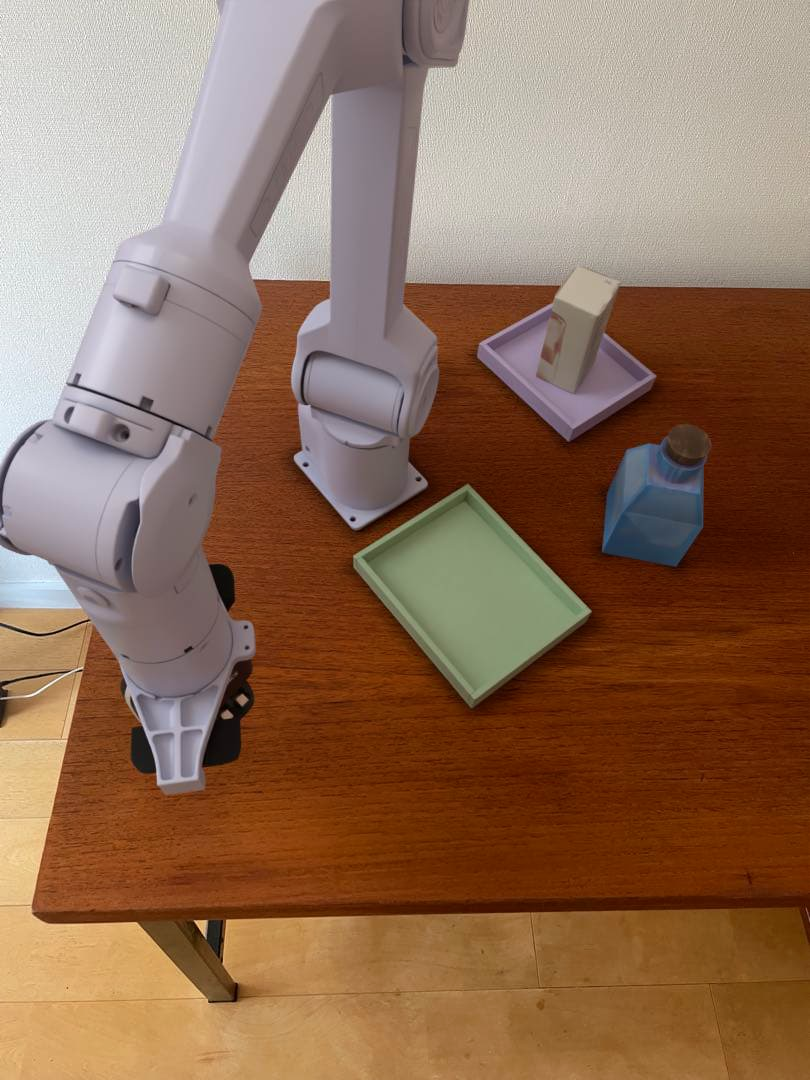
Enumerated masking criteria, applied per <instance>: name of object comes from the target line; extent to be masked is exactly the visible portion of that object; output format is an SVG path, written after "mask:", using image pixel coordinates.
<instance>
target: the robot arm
mask: <svg viewBox="0 0 810 1080" xmlns="http://www.w3.org/2000/svg"><path fill="white" fill-rule="evenodd" d="M215 3H216V6H217V10H218V14H219V16H220V17H219V21H218V25H217V28H216V31H215V35H214V39H213V42H212V46H211V48H210V53H209V57H208V59H207V63H206V67H205V70H204V74H203V77H202V80H201V84H200V87H199V91H198V94H197V98H196V102H195V106H194V108H193V112H192V116H191V119H190V123H189V126H188V129H187V133H186V135H185V139H184V143H183V148H182V151H181V154H180V157H179V161H178V164H177V168H176V171H175V175H174V177H173V178H174V179H173V181H172V186H171V189H170V193H169V196H168V198H167V202H166V207H165V210H164V213H163V217H162V221H161V222H160V224H158V225H157V226H155V227H153V228H150V229H148V230H144V231H142V232H139V233H138V234H135V235H132V236H130V237H128V238H126V239H125V240H123V241H121V242H120V243H119V244H118V247H117V250H116V253H115V255H114V258H113V260H112V263H111V265H110V268H109V270H108V273H107V275H106V278H105V281H104V283H103V286H102V288H101V290H100V293H99V295H98V298H97V301H96V304H95V306H94V309H93V311H92V314H91V315H90V319H89V321H88V324H87V326H86V330H85V332H84V335H83V337H82V339H81V342H80V345H79V347H78V350H77V351H76V355H75V358H74V360H73V363H72V365H71V367H70V371H69V373H68V375H67V378H66V381H65V385H64V386H63V389H62V391H61V394H60V396H59V399H58V402H57V404H56V407H55V410H54V412H53V414H52V418H50V419H43V420H40V421H37V422H35V423H33V424H31V425H29V426H28V427H27V428H25V429H24V430H23V431H22V432H21V433H20V434H18V436H17V437H16V439H15V440H14V441H13V442H12V443H11V444H10V445H9V447H8V448H7V449H6V450H7V451H6V452H5V454H4V456H3V458H2V459H1V462H0V546H1V547H2V548H4V549H5V550H7V551H10V552H13V553H16V554H18V555H22V556H34V557H37V558H40V559H42V560H45V561H47V563H48V565H50V566H53V567H54V569H55V570H56V571H57V573H58V574H59V576H60V577H61V579H62V581H63V582H64V583H65V585H66V587H67V588H68V589H69V591H70V592H71V594H72V595H73V597H74V599H75V600H76V601H77V602H78V603H77V604H78V605H79V606H80V607H81V608H82V610H83V611H84V613H85V614H86V616H87V617H88V619H89V620H90V622H91V623H92V625H93V626H94V628H95V629H96V631H97V632H98V633H99V635H100V636H101V638H102V639H103V641H104V642H105V643H106V645H107V646H108V648H109V649H110V650H111V652H112V654H113V656H114V657H115V658H116V660H117V661H118V663H119V667H120V670H121V674H122V676H124V679H125V681H126V684H127V686H128V689H129V692H130V694H131V697H132V699H133V702H134V705H135V707H136V710H137V712H138V715H139V718H140V720H141V723H142V724H141V726H133V727H131V732H130V734H131V735H130V760H131V763H132V765H133V766H134V767H135V768H136V770H137V771H138V772H139V773H141V774H145V775H149V774H152V775H153V774H156V786H157V787H158V788H159V789H160V790H161V791H162V793H163V794H164V796H170V795H177V794H178V795H179V794H186V793H187V794H188V793H191V792H192V793H193V792H200V791H205V790H206V772H205V770H204V769H205V768H210V767H211V768H212V767H219V766H223V765H225V764H230V763H233V762H236V761H237V760H238V759H239V757H240V754H241V750H242V729H241V720H240V717H237V718H229V719H221V720H215V719H216V716H217V713H218V710H219V707H220V704H221V701H222V699H223V696H224V693H225V690H226V687H227V684H228V681H229V678H230V675H231V672H232V669H233V667H234V665H235V664H236V663H237V662H239V661H244V660H249V659H251V660H252V659H253V658H254V656H255V655H256V652H257V647H256V644H257V643H256V632H255V627H254V624H253V623H252V622H251V621H249V620H246V619H245V620H234V619H232V617H231V616H230V614H229V611H230V609H231V608H232V606H233V605H234V604H235V602H236V590H235V587H236V585H235V577H234V576H235V575H234V573H233V570H232V569H231V568H230V567H229V566H228V565H225V564H222V563H213V564H211V563H210V564H209V561H208V558H207V556H206V553H205V550H204V547H203V545H202V544H203V541H204V538H205V536H206V534H207V532H208V530H209V528H210V524H211V520H212V517H213V512H214V508H215V500H216V492H217V491H216V489H217V488H216V486H217V485H216V482H217V481H216V479H217V474H218V470H219V467H220V464H221V461H222V457H221V456H222V452H223V448H222V447H221V445H220V446H219V445H218V444H216V443H214V438H215V435H216V433H217V430H218V427H219V425H220V422H221V419H222V417H223V414H224V412H225V409H226V406H227V405H228V401H229V399H230V396H231V393H232V391H233V388H234V385H235V383H236V380H237V378H238V374H239V373H240V370H241V367H242V364H243V361H244V359H245V356H246V353H247V351H248V350H249V349H248V348H249V346H250V344H251V340H252V338H253V335H254V333H255V329H256V327H257V325H258V322H259V320H260V317H261V315H262V310H263V305H262V300H261V299H260V295H259V293H258V290H257V287H256V285H255V282H254V279H253V277H252V273H251V270H250V263H251V261H252V258H253V257H254V254H255V252H256V250H257V248H258V246H259V244H260V241H261V240H262V238H263V236H264V234H265V231H266V230H267V227H268V225H269V223H270V221H271V219H272V217H273V215H274V213H275V210H276V208H277V207H278V204H279V203H280V200H281V198H282V196H283V195H284V192H285V190H286V188H287V187H288V185H289V182H290V180H291V178H292V176H293V174H294V171H295V169H296V168H297V166H298V163H299V161H300V159H301V157H302V155H303V153H304V151H305V149H306V147H307V145H308V143H309V140H310V138H311V137H312V134H313V132H314V130H315V128H316V127H317V124H318V122H319V120H320V119H321V118H320V117H321V116H322V114H323V112H324V109H325V108H326V105H327V104H328V101H329V99H330V97H331V129H330V130H331V131H330V132H331V133H330V137H331V143H330V145H331V146H330V236H329V237H330V245H329V247H330V250H329V252H330V253H329V254H330V255H329V298H327V299H325V300H323V301H321V302H319V303H318V304H316V305H315V306H314V307H313V309H312V310H311V311H310V312H309V314H308V315H307V317H305V320H304V321H303V322H302V324H301V326H300V328H299V330H298V332H297V335H296V338H297V339H296V351H295V355H294V359H293V363H292V368H291V376H290V383H291V390H292V392H293V396H294V399H295V400H296V402H297V403H298V406H297V415H298V425H299V433H300V434H299V435H300V443H301V451H298V452H297V453H295V454H294V456H293V461H294V463H295V464H296V466H298V468H299V469H300V470H301V471H302V473H304V475H305V476H306V477H307V478H308V479H309V480H310V482H311V483H312V484H313V485H314V486H315V488H316V489H317V490H318V491H319V492H320V493H321V494H322V496H323V497H324V498H325V499H326V500H327V502H328V503H329V504H330V505H331V506H332V507H333V508H334V510H335V511H336V512H337V513H338V514H339V515H340V517H341V518H342V519H343V520H344V521H345V522H346V524H347V525H348V526H349V528H351V530H353V531H360V530H361V529H363V528H365V527H366V526H368V525H369V524H371V523H373V522H375V521H376V520H378V519H379V518H382V517H383V516H385V515H386V514H388V513H389V512H391V511H392V510H395V509H396V508H397V507H399V506H400V505H402V504H404V503H405V502H407V501H408V500H410V499H412V498H414V497H415V496H417V495H418V494H421V492H423V491H425V490H426V489H427V488H428V486H429V483H428V480H426V478H425V477H424V476H423V475H422V474H421V473H420V472H419V471H418V470H417V469H416V467H414V466H413V464H412V463H410V460H409V455H410V444H411V443H410V441H411V439H412V438H413V437H414V436H417V435H418V434H419V433H420V432H422V429H423V427H424V425H425V424H426V423H427V422H426V421H427V419H428V417H429V415H430V412H431V410H432V407H433V403H434V400H435V397H436V393H437V390H438V385H439V378H440V368H439V365H438V354H439V347H438V345H437V344H438V337H437V335H436V334H435V333H434V332H433V331H432V330H431V329H430V327H428V326H427V325H426V324H425V323H424V322H423V321H422V320H421V319H419V317H417V316H416V314H415V313H413V312H412V311H411V310H410V309H409V308H408V306H406V305H405V304H404V299H405V288H406V278H407V266H408V259H409V258H408V256H409V246H410V238H411V237H410V235H411V226H412V217H413V216H412V214H413V204H414V194H415V184H416V174H417V165H418V164H417V163H418V153H419V143H420V133H421V132H420V131H421V121H422V112H423V110H422V109H423V101H424V92H425V85H426V81H427V77H428V73H429V69H442V68H443V69H444V68H445V69H446V68H450V69H451V68H455V67H457V65H458V62H459V60H460V59H459V58H460V53H461V51H462V48H463V46H464V41H465V37H466V28H467V21H468V13H469V7H470V6H469V5H470V0H215ZM418 480H419V481H418ZM353 520H354V521H353Z"/></svg>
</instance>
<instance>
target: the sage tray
mask: <svg viewBox="0 0 810 1080" xmlns="http://www.w3.org/2000/svg"><path fill="white" fill-rule="evenodd" d="M352 557H353V562H352V563H353V566H352V567H353V569H354V570H355V571H356V572H357V573H358V575H359V576H360V577H361V578H362V580H364V582H365V583H366V584H367V585H368V587H369V588H370V590H372V591H373V593H374V594H375V595H376V596H377V597H378V599H380V601H381V602H382V603H383V605H384V606H385V607H386V608H387V609H388V610H389V612H390V613H391V615H393V617H394V618H395V619H396V620H397V621H398V623H399V624H400V625H401V626H402V627H403V629H404V630H405V632H406V633H408V634H409V636H410V637H411V638H412V639H413V641H414V642H415V643H416V644H417V645H418V647H419V648H420V650H422V651H423V653H424V654H425V655H426V656H427V657H428V658H429V660H430V661H431V662H432V663H433V665H434V666H435V667H436V668H437V670H438V671H439V672H440V673H441V674H442V675H443V677H445V679H446V680H447V681H448V682H449V684H450V685H451V686H452V687H453V689H454V690H455V691H456V692H457V693H458V695H459V696H460V697H461V698H462V700H463V701H464V702H465V703H466V704H467V705H468V706H469V708H470V709H473V708H475V707H476V706H477V705H479V704H480V703H481V702H483V701H484V700H486V699H487V698H488V697H489V696H491V695H492V694H493V693H494V692H496V691H497V690H498V689H500V688H501V687H503V685H505V684H506V683H508V682H509V681H511V680H512V679H514V678H515V677H516V676H517V675H518V674H520V673H521V672H522V671H524V670H525V669H526V668H527V667H529V666H530V665H531V664H533V663H534V662H535V661H537V660H538V659H539V658H541V657H542V656H543V655H545V654H546V653H548V651H550V650H551V649H552V648H554V647H555V646H557V645H558V644H559V643H561V642H562V641H563V640H565V639H566V638H567V637H569V635H571V634H572V633H574V632H575V631H576V630H578V629H579V628H581V626H583V625H584V624H586V623H587V621H588V619H589V618H590V616H591V614H592V609H590V608H589V607H588V606H587V605H586V603H584V602H583V601H582V599H580V598H579V596H578V595H577V594H576V593H575V592H574V591H573V590H572V589H571V588H570V587H569V586H568V585H567V584H566V583H565V582H564V581H563V580H562V579H561V578H560V577H559V576H558V575H557V574H556V572H554V571H553V570H552V569H551V567H549V565H548V564H546V563H545V562H544V560H543V559H542V558H541V557H540V556H539V555H538V554H537V553H536V552H535V551H534V550H533V549H532V548H531V547H530V546H529V545H528V544H527V543H526V542H525V541H524V540H523V538H522V537H521V536H519V535H518V534H517V532H515V530H514V529H512V527H511V526H510V525H509V524H508V523H507V522H506V521H505V520H504V519H503V518H502V517H501V515H499V514H498V513H497V512H496V511H495V510H494V509H493V508H492V507H491V505H490V504H489V503H487V502H486V501H485V500H484V499H483V497H481V496H480V494H479V493H478V492H477V491H476V490H475V489H474V488H473V487H472V486H471V485H470V484H469V483H467V484H464V485H463V486H462V487H460V488H459V489H457V490H455V491H454V492H452V493H451V494H449V495H448V496H446V497H445V498H443V499H441V500H439V501H438V502H437V503H434V504H433V505H431V506H430V507H428V508H427V509H425V510H424V511H422V512H420V513H419V514H417V515H415V516H414V517H413V518H411V519H409V520H408V521H406V522H404V523H403V524H401V525H400V526H398V527H396V528H395V529H393V530H392V531H390V532H389V533H387V534H385V535H384V536H382V537H381V538H379V539H377V540H376V541H373V543H371V544H369V545H368V546H367V547H365V548H363V549H362V550H360V551H358V552H357V553H355V554H354V555H353V556H352Z"/></svg>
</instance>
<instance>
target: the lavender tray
mask: <svg viewBox="0 0 810 1080" xmlns="http://www.w3.org/2000/svg"><path fill="white" fill-rule="evenodd" d="M552 306H553V302H551V303H549V304H547V305H546V306H544V307H542V308H540V309H538V310H537V311H534V312H533V313H531V314H530V315H527V316H526V317H524V318H522V319H521V320H519V321H517V322H515V323H513V324H512V325H510V326H508V327H506V328H504V329H501V331H498V332H497V333H495V334H493V335H491V336H490V337H487V338H486V339H484V340H482V341H481V342H479V343H478V349H477V356H476V358H477V359H478V360H479V361H480V362H481V363H483V364H484V365H485V366H486V367H487V369H489V370H490V371H491V372H493V374H494V375H496V377H498V378H499V379H500V380H501V381H502V382H503V383H504V384H505V385H507V387H509V388H510V389H511V390H512V391H513V392H514V393H515V394H516V395H517V396H518V397H519V398H520V399H522V400H523V401H524V402H525V403H526V404H527V405H528V407H530V408H531V409H532V410H533V411H535V413H537V414H538V416H540V417H541V418H542V419H543V420H544V421H545V422H546V423H547V424H548V425H549V426H551V428H552V429H554V430H555V431H556V432H557V433H558V434H559V435H560V436H561V437H562V438H563V439H564V440H565V441H567V442H568V443H570V442H571V441H573V440H574V439H576V438H578V437H579V436H580V435H583V434H584V433H586V432H587V431H588V430H590V429H591V428H593V427H595V426H597V425H598V424H599V423H601V422H602V421H604V420H606V419H607V418H609V417H610V416H612V415H614V414H615V413H617V412H618V411H620V410H622V409H623V408H624V407H626V406H627V405H630V404H631V403H632V402H634V401H635V400H637V399H638V398H640V397H642V396H643V395H644V394H646V393H647V392H649V391H652V387H653V385H654V383H655V382H656V378H657V375H656V374H655V373H654V372H653V371H651V370H650V369H649V368H648V367H646V366H645V365H644V364H643V363H641V362H640V360H638V359H637V358H636V357H634V356H633V355H632V354H631V353H630V352H629V351H627V350H626V349H625V348H624V347H622V346H621V345H620V344H619V343H617V341H615V340H614V339H613V338H611V336H609V335H608V334H607V333H606V332H604V335H603V338H602V341H601V344H600V347H599V350H598V353H597V356H596V359H595V362H594V364H593V366H592V367H591V369H590V371H589V373H588V374H587V376H586V377H585V379H584V381H583V382H582V384H581V385H580V387H579V388H578V390H577V391H576V393H574V394H573V393H570V392H568V391H566V390H564V389H561V388H559V387H557V386H555V385H553V384H551V383H549V382H546V381H544V380H542V379H540V378H538V377H537V376H536V373H537V369H538V364H539V360H540V356H541V352H542V348H543V344H544V340H545V335H546V331H547V327H548V323H549V319H550V315H551V310H552Z"/></svg>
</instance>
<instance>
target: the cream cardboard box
mask: <svg viewBox="0 0 810 1080" xmlns="http://www.w3.org/2000/svg"><path fill="white" fill-rule="evenodd" d="M620 287H621V280H619V279H616V278H614V277H611V276H609V275H606V274H604V273H602V272H600V271H596V270H595V269H592V268H589V267H586V266H583V265H580V264H576V265H575V267H573V269H572V270H571V271H570V273H569V274H568V275H567V277H566V278H565V280H564V281H563V283H561V285H560V287H559V289H558V290H557V292H556V293H555V295H554V298H553V302H552V303H553V306H552V310H551V315H550V319H549V323H548V327H547V331H546V335H545V340H544V344H543V348H542V352H541V356H540V360H539V364H538V369H537V373H536V376H537V377H538V378H540V379H542V380H544V381H546V382H549V383H551V384H553V385H555V386H557V387H559V388H561V389H564V390H566V391H568V392H570V393H573V394H574V393H576V391H577V390H578V388H579V387H580V385H581V384H582V382H583V381H584V379H585V377H586V376H587V374H588V373H589V371H590V369H591V367H592V366H593V364H594V362H595V359H596V356H597V353H598V350H599V347H600V344H601V341H602V338H603V335H604V333H606V332H605V331H606V328H607V325H608V322H609V319H610V317H611V313H612V311H613V308H614V304H615V301H616V298H617V295H618V291H619V288H620Z"/></svg>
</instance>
